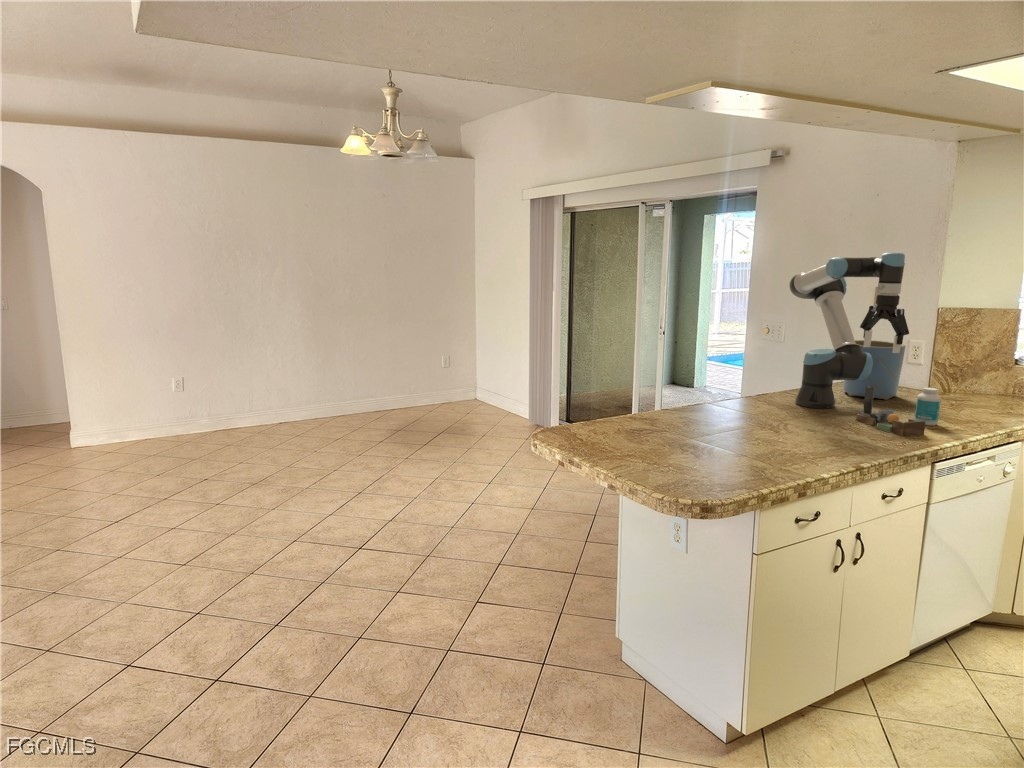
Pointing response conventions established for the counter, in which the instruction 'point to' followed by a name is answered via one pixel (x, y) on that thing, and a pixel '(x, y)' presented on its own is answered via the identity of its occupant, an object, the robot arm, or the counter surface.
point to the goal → (908, 427)
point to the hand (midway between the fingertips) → (880, 349)
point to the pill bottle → (928, 406)
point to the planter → (879, 371)
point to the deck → (885, 426)
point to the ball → (893, 418)
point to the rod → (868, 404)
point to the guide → (867, 419)
